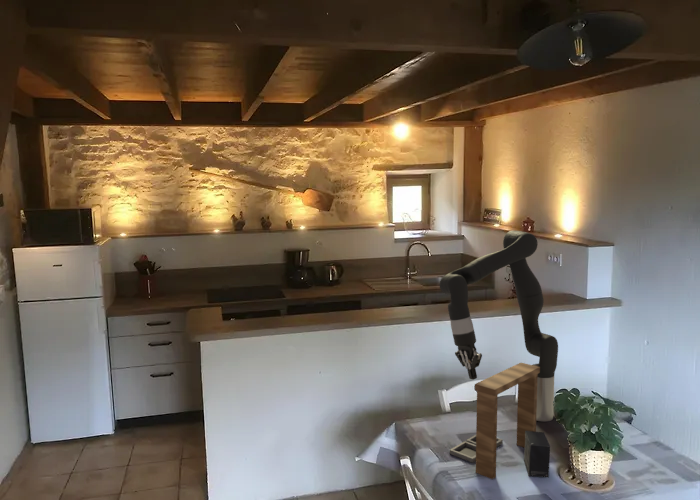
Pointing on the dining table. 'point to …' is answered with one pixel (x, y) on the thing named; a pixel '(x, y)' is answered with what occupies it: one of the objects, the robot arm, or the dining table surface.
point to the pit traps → (468, 449)
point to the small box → (537, 454)
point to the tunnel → (488, 412)
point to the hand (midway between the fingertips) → (473, 378)
